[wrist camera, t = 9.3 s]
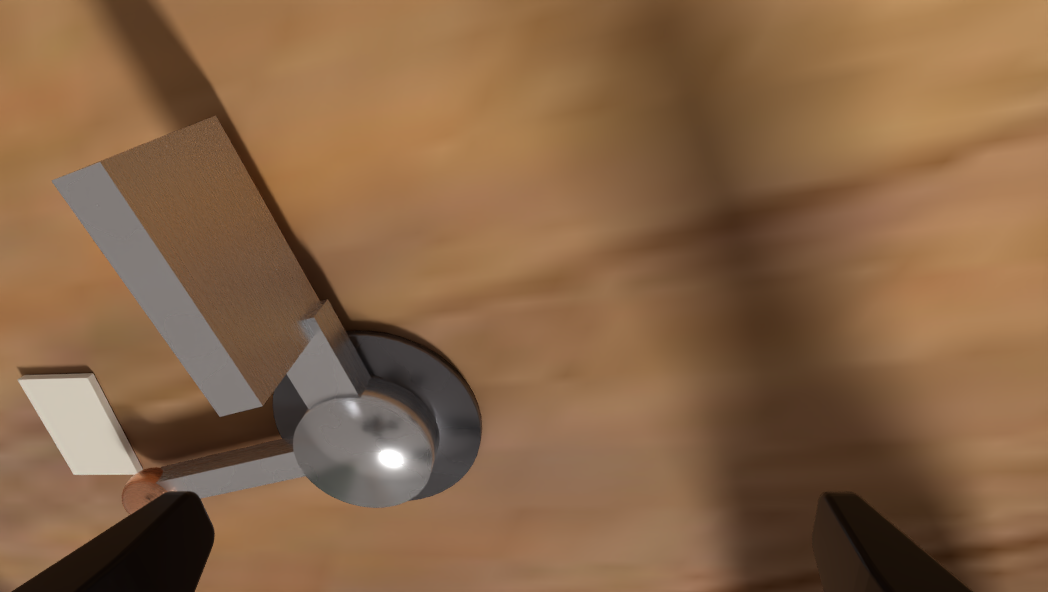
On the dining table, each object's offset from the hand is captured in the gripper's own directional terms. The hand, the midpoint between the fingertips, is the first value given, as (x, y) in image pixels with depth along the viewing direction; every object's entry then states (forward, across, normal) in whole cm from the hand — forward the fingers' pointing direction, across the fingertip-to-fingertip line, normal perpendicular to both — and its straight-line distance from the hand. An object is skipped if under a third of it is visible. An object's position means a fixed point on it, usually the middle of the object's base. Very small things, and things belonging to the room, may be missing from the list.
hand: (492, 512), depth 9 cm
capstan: (+11, +12, +4) cm, 17 cm away
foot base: (+12, +7, +8) cm, 16 cm away
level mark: (+12, +20, +8) cm, 24 cm away
